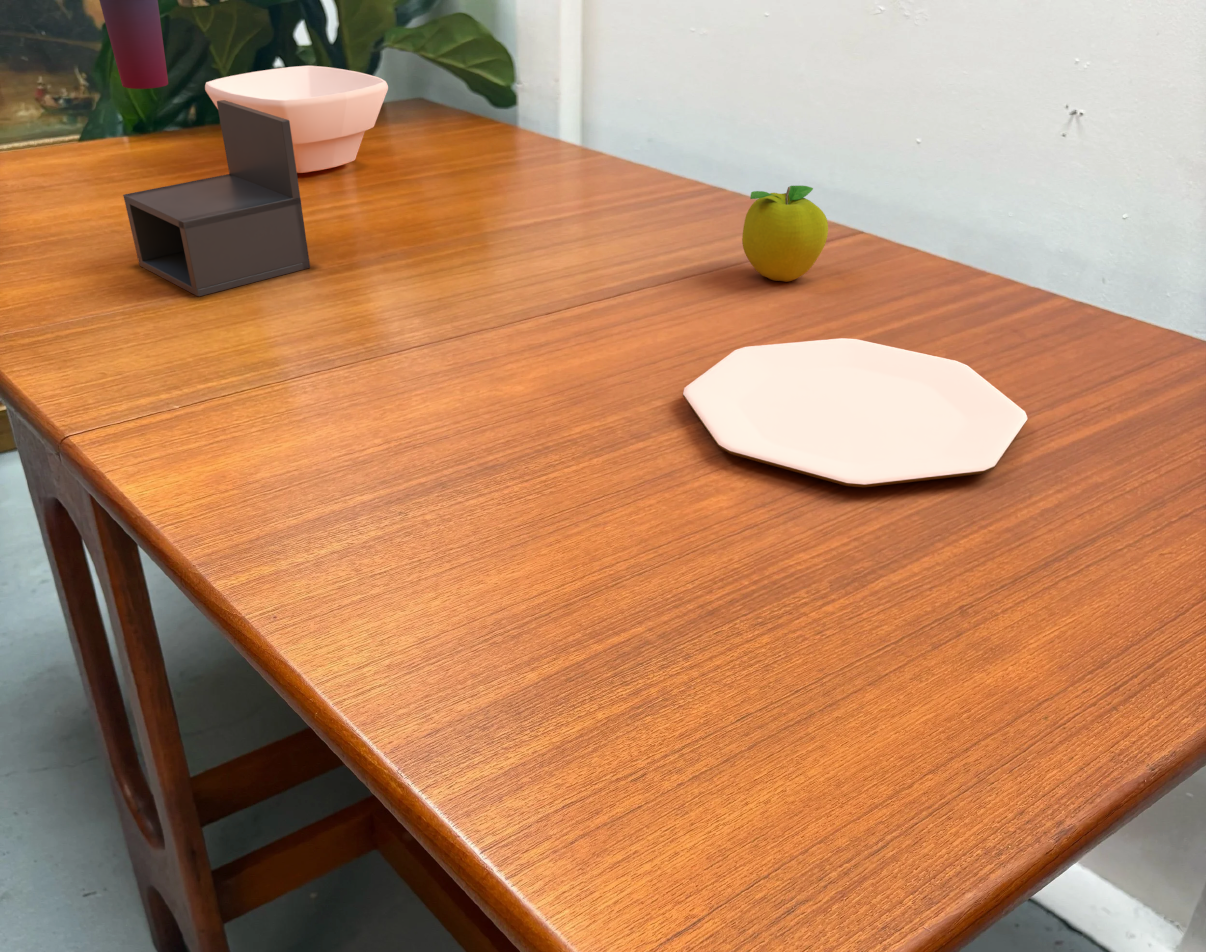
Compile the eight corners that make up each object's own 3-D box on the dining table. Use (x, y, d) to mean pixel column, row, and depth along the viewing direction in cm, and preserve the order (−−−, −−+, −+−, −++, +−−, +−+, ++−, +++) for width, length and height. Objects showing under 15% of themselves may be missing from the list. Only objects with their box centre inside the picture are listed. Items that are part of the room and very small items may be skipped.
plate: (655, 368, 108) (656, 353, 107) (922, 344, 113) (925, 330, 112) (754, 512, 86) (755, 495, 85) (1079, 474, 91) (1084, 457, 90)
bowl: (321, 141, 180) (311, 61, 173) (415, 166, 168) (407, 81, 162) (199, 168, 166) (183, 82, 160) (291, 196, 154) (278, 105, 148)
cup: (167, 90, 127) (137, -64, 119) (105, 90, 127) (71, -65, 119) (183, 79, 133) (156, -70, 124) (124, 78, 133) (94, -70, 124)
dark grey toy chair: (198, 297, 123) (166, 141, 113) (139, 265, 131) (105, 118, 122) (310, 267, 131) (289, 120, 121) (248, 240, 139) (224, 99, 130)
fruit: (722, 273, 130) (728, 183, 124) (785, 259, 134) (794, 171, 128) (774, 297, 124) (783, 203, 118) (838, 282, 128) (850, 191, 122)
